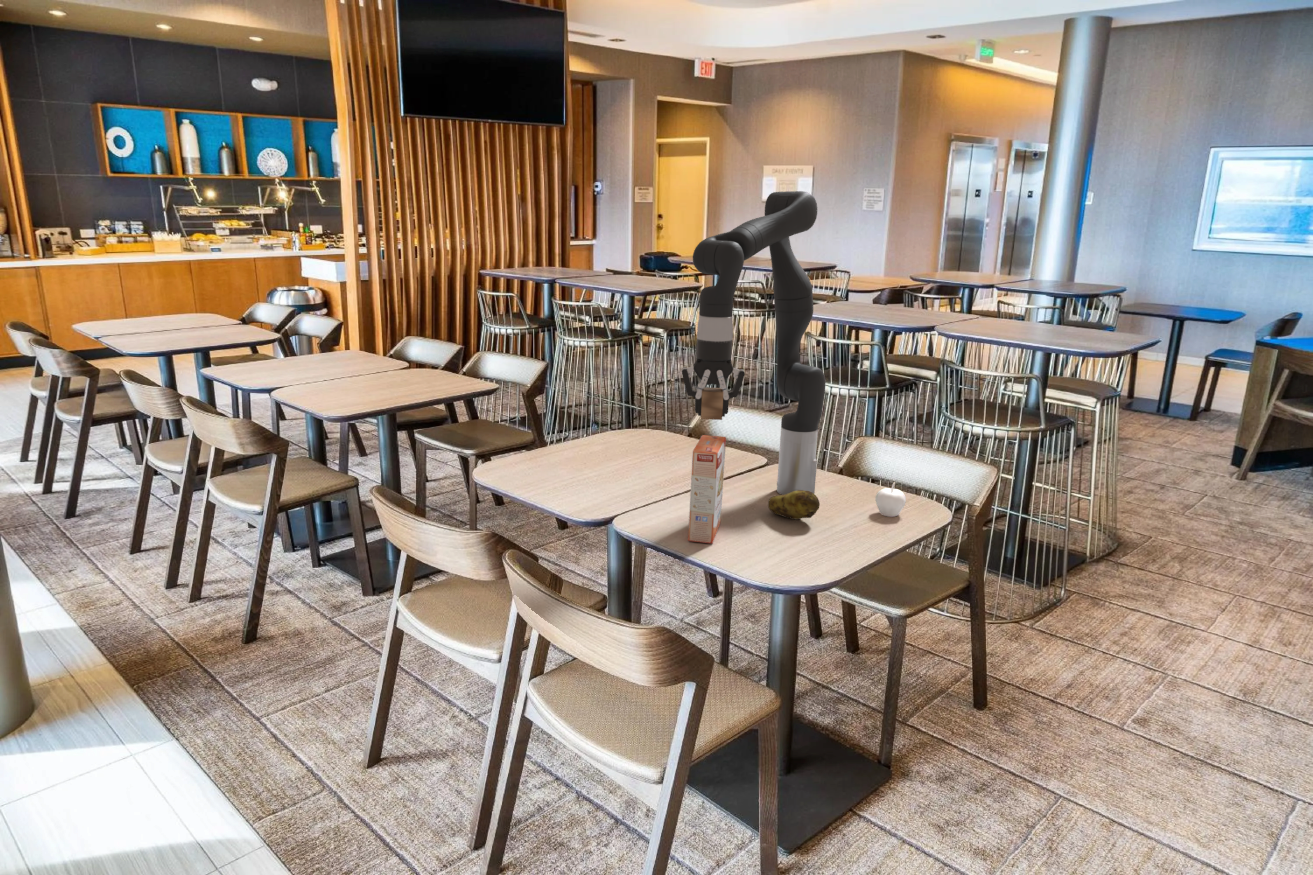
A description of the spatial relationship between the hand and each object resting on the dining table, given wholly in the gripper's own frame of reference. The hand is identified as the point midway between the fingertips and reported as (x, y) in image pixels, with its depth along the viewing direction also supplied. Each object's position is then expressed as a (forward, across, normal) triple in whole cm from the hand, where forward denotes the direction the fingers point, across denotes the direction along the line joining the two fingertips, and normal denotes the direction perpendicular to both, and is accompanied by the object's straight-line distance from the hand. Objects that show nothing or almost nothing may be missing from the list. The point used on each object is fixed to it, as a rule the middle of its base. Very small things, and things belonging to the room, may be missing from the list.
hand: (711, 415), depth 188 cm
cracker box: (+27, 0, 0) cm, 27 cm away
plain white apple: (+27, -45, -16) cm, 55 cm away
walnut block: (0, 0, 0) cm, 0 cm away
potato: (+27, -21, -10) cm, 36 cm away
